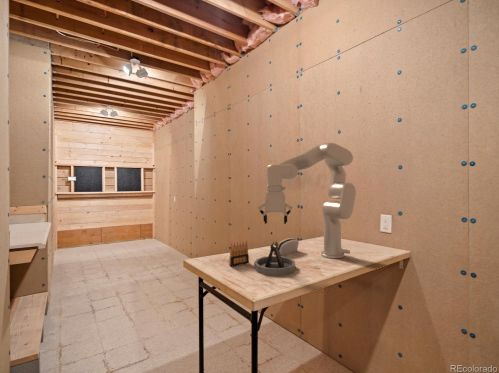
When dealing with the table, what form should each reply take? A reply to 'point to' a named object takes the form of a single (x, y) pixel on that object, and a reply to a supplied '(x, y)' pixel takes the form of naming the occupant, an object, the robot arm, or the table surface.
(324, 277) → the table surface
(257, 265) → the round tray
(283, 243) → the white electronic device
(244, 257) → the ammunition clip
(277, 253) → the phone stand
